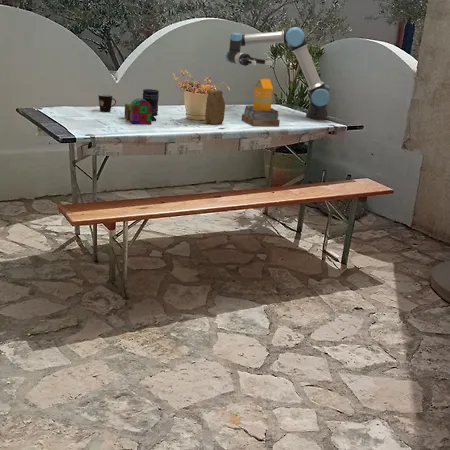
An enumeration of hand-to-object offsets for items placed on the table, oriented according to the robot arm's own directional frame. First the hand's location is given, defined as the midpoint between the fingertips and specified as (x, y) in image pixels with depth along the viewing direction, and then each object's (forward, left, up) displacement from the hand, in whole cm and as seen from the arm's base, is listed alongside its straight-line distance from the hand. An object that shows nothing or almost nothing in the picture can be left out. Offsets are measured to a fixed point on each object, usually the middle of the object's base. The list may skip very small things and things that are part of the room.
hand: (263, 63), depth 377 cm
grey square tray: (+10, -3, -36) cm, 37 cm away
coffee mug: (-19, -95, -36) cm, 103 cm away
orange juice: (+10, -3, -28) cm, 30 cm away
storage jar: (-13, -69, -36) cm, 79 cm away
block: (+12, -35, -36) cm, 52 cm away
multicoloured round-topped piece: (+4, -79, -36) cm, 87 cm away
